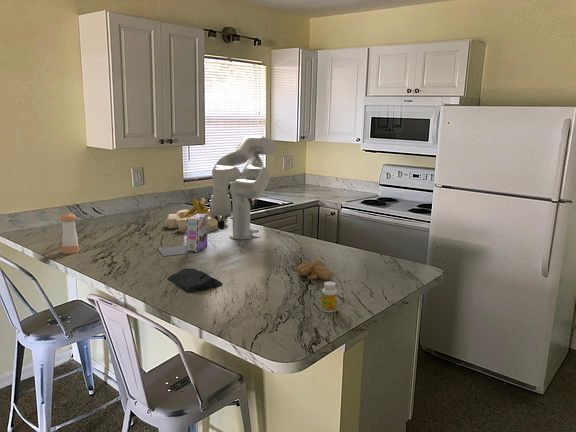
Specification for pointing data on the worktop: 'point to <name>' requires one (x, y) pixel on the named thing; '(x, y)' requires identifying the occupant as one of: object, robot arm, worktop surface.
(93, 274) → the worktop surface
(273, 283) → the worktop surface
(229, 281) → the worktop surface
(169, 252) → the mat
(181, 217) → the campfire
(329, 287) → the supplement bottle
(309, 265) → the ginger root
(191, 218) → the candy box
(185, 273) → the dark slate chunk
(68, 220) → the salt shaker
